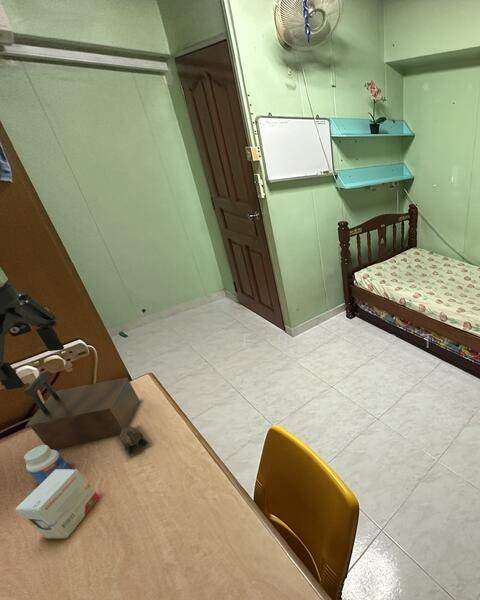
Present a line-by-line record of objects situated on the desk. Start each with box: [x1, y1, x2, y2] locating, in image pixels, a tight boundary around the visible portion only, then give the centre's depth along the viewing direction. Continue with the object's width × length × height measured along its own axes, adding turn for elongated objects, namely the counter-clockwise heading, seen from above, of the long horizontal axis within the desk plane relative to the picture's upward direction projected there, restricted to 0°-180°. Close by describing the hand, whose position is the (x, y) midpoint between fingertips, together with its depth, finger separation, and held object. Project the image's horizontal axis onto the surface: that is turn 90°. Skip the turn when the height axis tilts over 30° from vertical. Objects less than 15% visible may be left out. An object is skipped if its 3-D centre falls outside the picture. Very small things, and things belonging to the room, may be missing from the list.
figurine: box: [118, 425, 151, 459], centre depth 83 cm, size 14×4×9 cm, turn 53°
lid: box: [23, 373, 129, 429], centre depth 84 cm, size 17×13×9 cm
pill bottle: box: [23, 444, 71, 485], centre depth 75 cm, size 6×5×10 cm
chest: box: [30, 379, 141, 451], centre depth 89 cm, size 17×13×10 cm
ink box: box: [15, 468, 100, 539], centre depth 67 cm, size 9×5×12 cm, turn 0°
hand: (38, 367), depth 74 cm, fingers open, 13 cm apart
